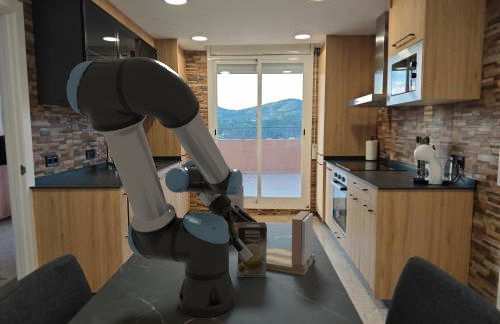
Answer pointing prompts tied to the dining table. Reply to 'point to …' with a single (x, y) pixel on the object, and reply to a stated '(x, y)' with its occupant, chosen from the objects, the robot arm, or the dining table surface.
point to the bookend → (306, 240)
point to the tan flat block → (297, 236)
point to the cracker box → (238, 201)
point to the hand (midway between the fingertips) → (258, 250)
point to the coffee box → (253, 249)
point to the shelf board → (284, 261)
